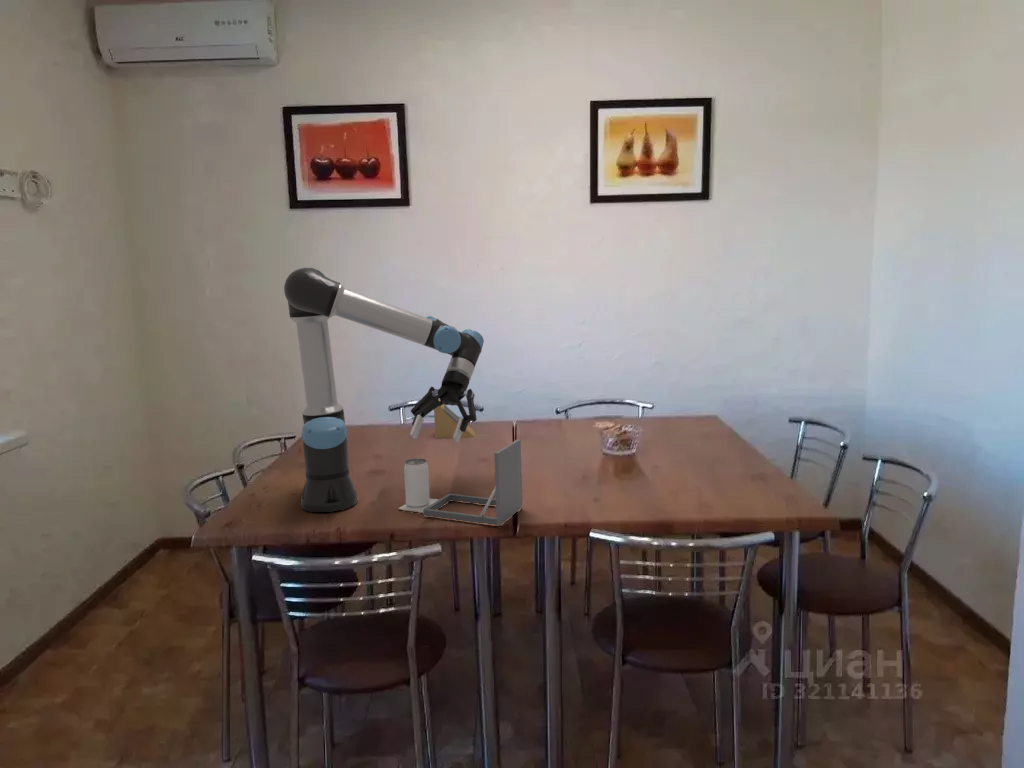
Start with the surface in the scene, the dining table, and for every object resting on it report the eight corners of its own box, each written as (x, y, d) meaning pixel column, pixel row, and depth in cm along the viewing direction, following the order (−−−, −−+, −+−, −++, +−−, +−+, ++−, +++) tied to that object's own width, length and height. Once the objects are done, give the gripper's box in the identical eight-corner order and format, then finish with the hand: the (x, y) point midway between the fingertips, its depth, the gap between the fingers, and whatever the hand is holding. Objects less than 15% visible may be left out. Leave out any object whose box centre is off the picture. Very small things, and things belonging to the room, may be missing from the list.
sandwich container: (475, 437, 269) (474, 398, 266) (435, 439, 268) (433, 400, 266) (476, 432, 277) (474, 394, 275) (436, 433, 277) (435, 395, 274)
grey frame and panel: (423, 517, 185) (420, 446, 182) (449, 500, 197) (446, 433, 194) (500, 527, 176) (498, 453, 173) (522, 509, 189) (520, 439, 185)
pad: (398, 510, 190) (398, 508, 190) (417, 498, 199) (417, 496, 199) (424, 514, 187) (424, 511, 187) (442, 502, 196) (442, 500, 196)
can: (401, 504, 193) (398, 461, 191) (419, 498, 198) (417, 456, 196) (416, 509, 189) (414, 466, 187) (434, 503, 193) (432, 460, 191)
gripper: (500, 386, 206) (478, 449, 195) (426, 382, 216) (401, 441, 205) (491, 370, 200) (469, 434, 189) (416, 367, 210) (390, 428, 199)
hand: (433, 438), depth 197 cm, fingers open, 13 cm apart
